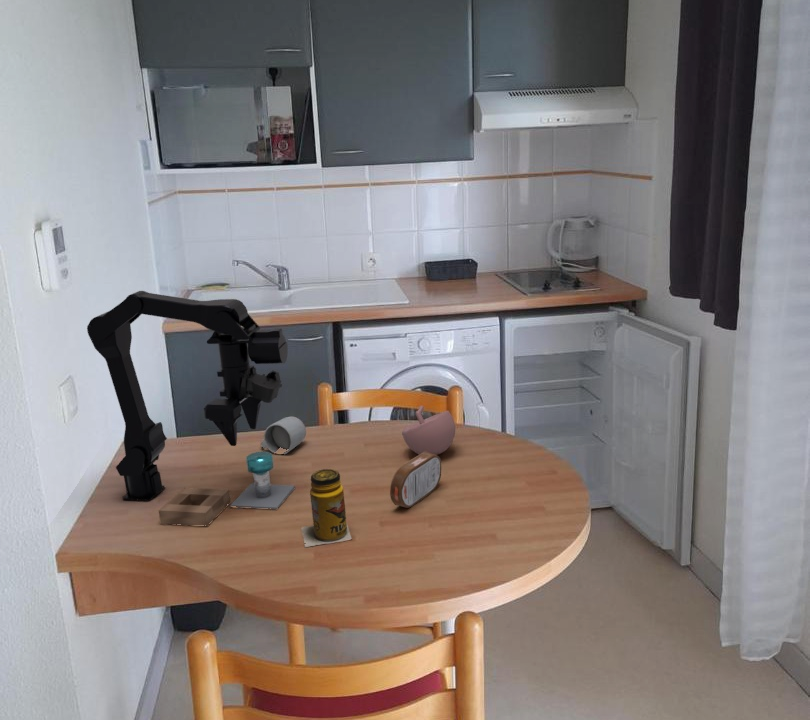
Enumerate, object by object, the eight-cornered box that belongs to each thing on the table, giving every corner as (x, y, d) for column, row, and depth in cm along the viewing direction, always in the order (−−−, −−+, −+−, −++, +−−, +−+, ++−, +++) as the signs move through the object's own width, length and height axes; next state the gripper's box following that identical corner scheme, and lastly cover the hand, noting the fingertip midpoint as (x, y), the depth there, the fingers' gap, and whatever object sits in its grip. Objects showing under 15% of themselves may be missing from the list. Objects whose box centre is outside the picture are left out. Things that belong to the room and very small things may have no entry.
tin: (432, 482, 156) (430, 444, 153) (445, 485, 154) (443, 447, 152) (390, 512, 144) (386, 472, 142) (403, 516, 142) (400, 475, 140)
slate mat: (230, 507, 150) (230, 505, 150) (251, 486, 160) (251, 483, 159) (277, 510, 148) (276, 507, 148) (295, 488, 157) (295, 485, 157)
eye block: (160, 524, 145) (158, 510, 144) (186, 500, 155) (184, 487, 154) (207, 527, 143) (205, 512, 142) (230, 503, 152) (228, 489, 151)
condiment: (352, 540, 135) (346, 479, 131) (305, 548, 133) (298, 486, 130) (346, 521, 142) (340, 463, 138) (301, 529, 140) (294, 470, 137)
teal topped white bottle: (270, 501, 151) (265, 462, 148) (246, 499, 152) (241, 461, 149) (280, 489, 155) (276, 452, 153) (257, 488, 157) (252, 450, 154)
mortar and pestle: (423, 440, 178) (420, 394, 175) (466, 449, 171) (464, 402, 168) (393, 458, 169) (389, 410, 166) (437, 468, 162) (434, 419, 159)
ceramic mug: (309, 443, 181) (306, 413, 179) (293, 456, 174) (289, 425, 172) (271, 440, 185) (267, 411, 183) (254, 453, 178) (249, 423, 176)
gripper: (252, 379, 138) (261, 457, 142) (290, 351, 155) (297, 422, 159) (197, 377, 140) (208, 454, 145) (241, 351, 158) (249, 420, 162)
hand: (243, 436), depth 153 cm, fingers open, 9 cm apart
